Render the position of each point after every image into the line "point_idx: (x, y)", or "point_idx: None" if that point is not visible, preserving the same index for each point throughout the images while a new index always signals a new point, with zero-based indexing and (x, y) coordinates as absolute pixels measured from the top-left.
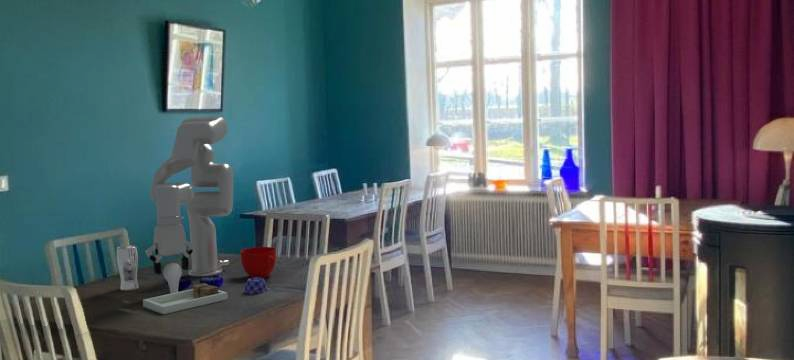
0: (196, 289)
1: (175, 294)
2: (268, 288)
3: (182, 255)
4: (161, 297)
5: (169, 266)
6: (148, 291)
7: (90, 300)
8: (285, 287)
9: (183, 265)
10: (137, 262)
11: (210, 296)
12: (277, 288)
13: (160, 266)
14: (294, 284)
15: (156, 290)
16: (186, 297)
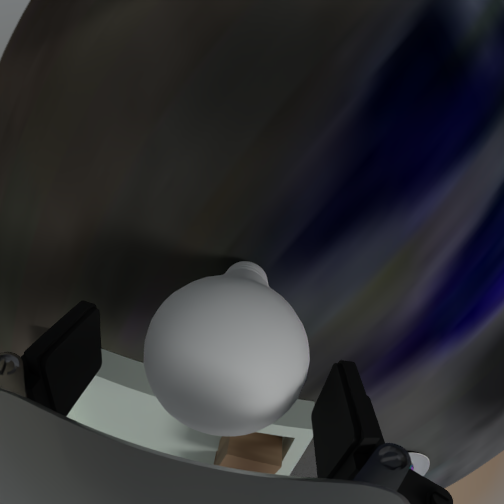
0: (217, 462)
1: (152, 403)
2: (423, 473)
3: (357, 474)
4: (94, 382)
5: (165, 408)
6: (230, 60)
7: (24, 22)
8: (445, 475)
9: (328, 409)
10: None
11: None
12: (435, 473)
13: (70, 404)
14: (473, 466)
15: (271, 82)
16: None
